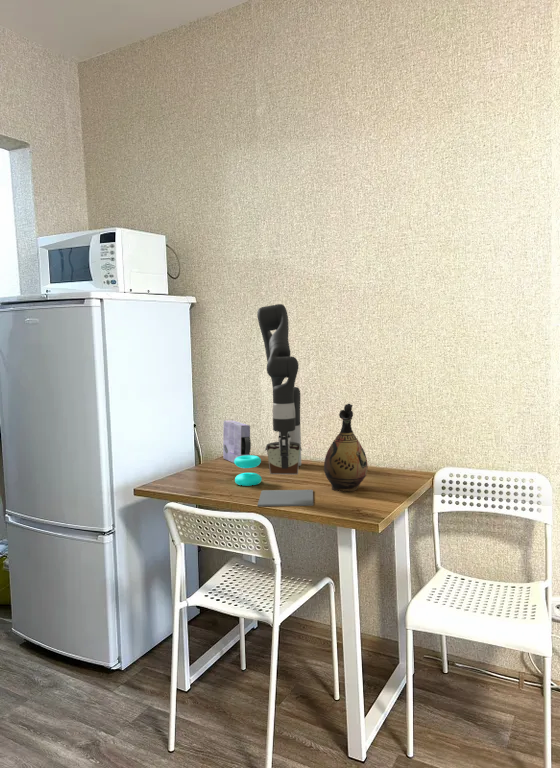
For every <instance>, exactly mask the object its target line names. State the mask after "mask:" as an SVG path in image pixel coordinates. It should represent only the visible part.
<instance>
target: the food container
mask: <svg viewBox="0 0 560 768" xmlns="http://www.w3.org/2000/svg"><path fill="white" fill-rule="evenodd" d="M264 449H265V450H264V451H266V452H267V460H268V461H267V462H268V467H269V474H270V475H293V476H294V475H295V476H296V475H297V476H298V475H299V467H300V466H299V455H300V449H301V452H302V451H303V450H302V445H301V446H300V444H299V443H297V442H290V449H289V450H288V455H289V456H288V468H287V469H282V464H281V456H280V454H281V453H280V450H279V441H275V442H268V443H267V444H266V446H265V447H264ZM282 453H286V450H283V451H282Z"/></svg>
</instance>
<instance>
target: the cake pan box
mask: <svg viewBox="0 0 560 768" xmlns="http://www.w3.org/2000/svg"><path fill="white" fill-rule="evenodd" d="M222 430H223V432H222V433H223V441H222V442H223V443H222V444H223V446H222V447H223V449H222V450H223V451H222V453H223V454H222V455H223V456H222V457H223V459H224V460H226V461H229V462H230V463H232V464H235V463H234V460H235V458H237V457H239V456H245V455H251V448H252V441H251V425H249V424H246V423H243V422H240V421H237V420H232V419H227V420H223V429H222Z"/></svg>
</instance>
